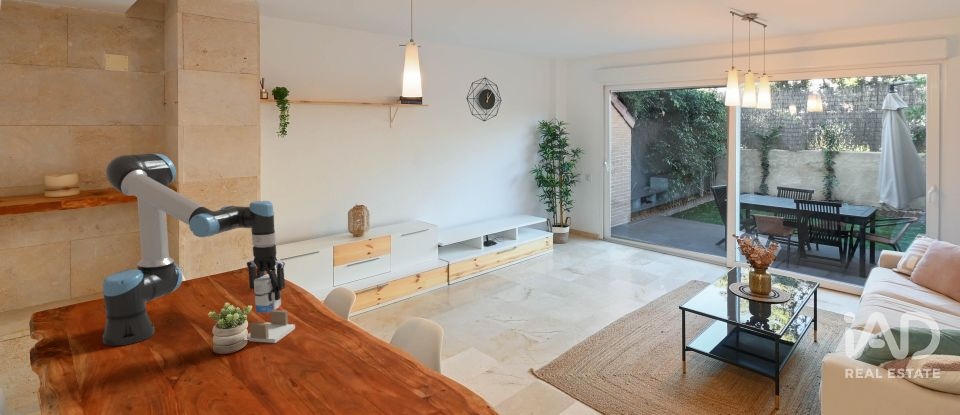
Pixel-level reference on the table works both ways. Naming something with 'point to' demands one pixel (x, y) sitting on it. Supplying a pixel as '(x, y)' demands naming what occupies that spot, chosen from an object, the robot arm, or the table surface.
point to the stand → (271, 328)
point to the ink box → (264, 294)
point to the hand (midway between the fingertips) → (268, 307)
